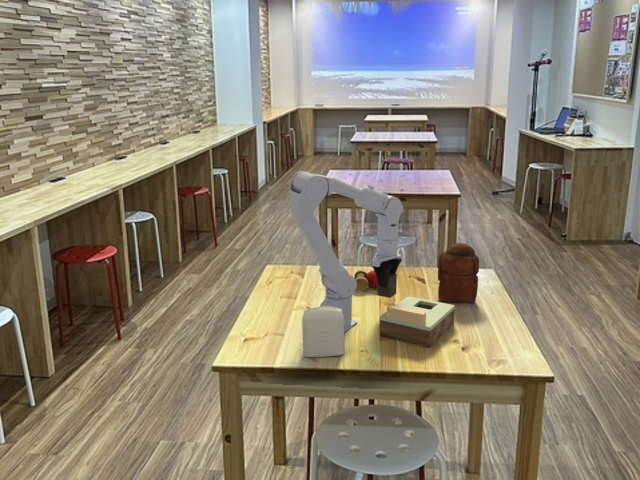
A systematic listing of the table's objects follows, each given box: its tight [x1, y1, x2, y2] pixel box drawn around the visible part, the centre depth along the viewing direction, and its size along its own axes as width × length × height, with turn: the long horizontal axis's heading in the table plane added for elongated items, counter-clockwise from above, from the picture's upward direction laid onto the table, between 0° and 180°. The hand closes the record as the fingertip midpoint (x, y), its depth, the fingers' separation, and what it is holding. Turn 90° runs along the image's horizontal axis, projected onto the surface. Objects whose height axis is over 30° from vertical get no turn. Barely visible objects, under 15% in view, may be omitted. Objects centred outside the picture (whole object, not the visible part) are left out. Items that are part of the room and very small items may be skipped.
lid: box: [379, 295, 456, 331], centre depth 164 cm, size 18×14×4 cm
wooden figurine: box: [437, 242, 480, 304], centre depth 186 cm, size 12×6×18 cm, turn 85°
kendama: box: [353, 269, 378, 292], centre depth 199 cm, size 8×6×18 cm
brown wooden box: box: [378, 304, 455, 349], centre depth 166 cm, size 18×14×4 cm
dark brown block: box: [376, 272, 398, 299], centre depth 174 cm, size 4×4×6 cm
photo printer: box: [301, 306, 345, 358], centre depth 150 cm, size 10×4×12 cm, turn 96°
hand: (386, 284), depth 174 cm, fingers closed on dark brown block, 4 cm apart
